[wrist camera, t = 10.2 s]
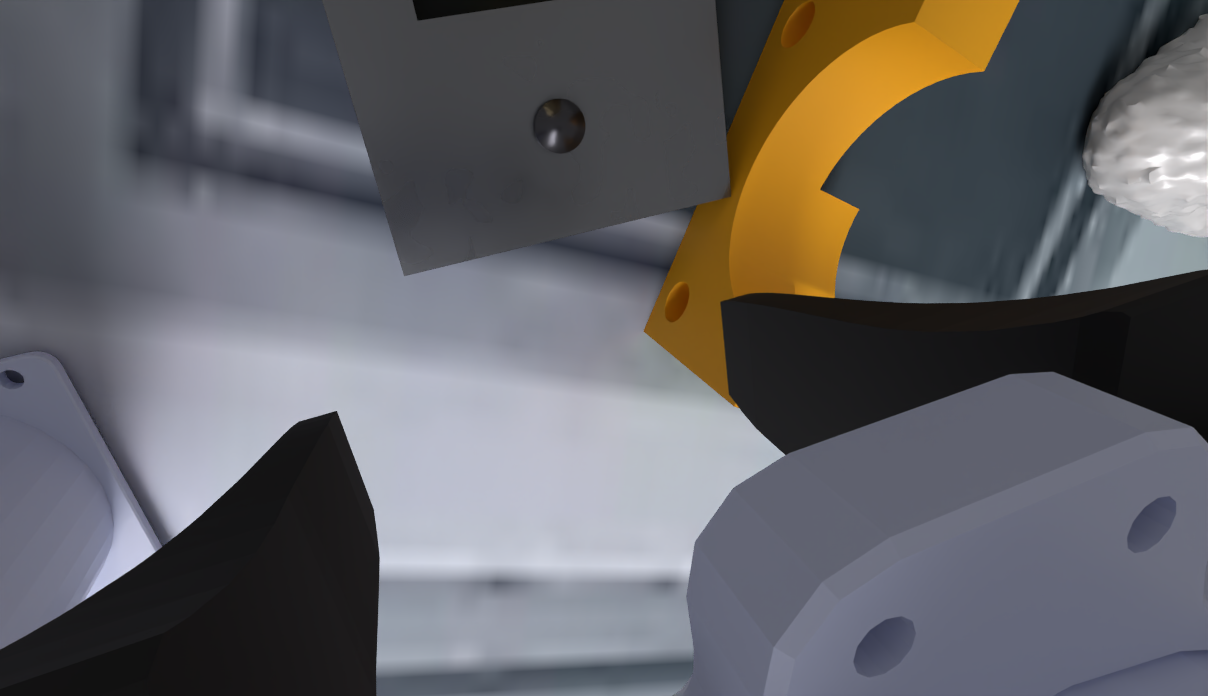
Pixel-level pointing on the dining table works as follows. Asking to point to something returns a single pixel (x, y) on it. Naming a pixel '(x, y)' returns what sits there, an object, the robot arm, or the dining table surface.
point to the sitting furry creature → (1157, 137)
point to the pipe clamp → (806, 154)
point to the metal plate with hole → (533, 118)
